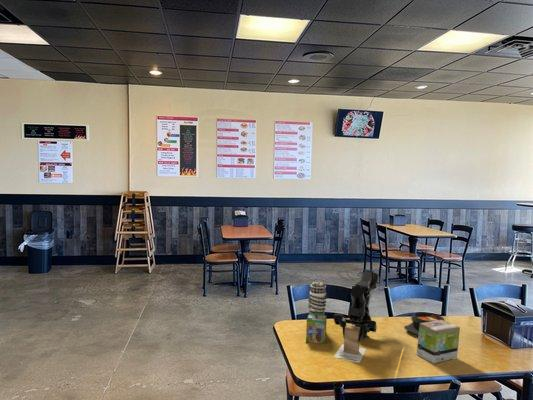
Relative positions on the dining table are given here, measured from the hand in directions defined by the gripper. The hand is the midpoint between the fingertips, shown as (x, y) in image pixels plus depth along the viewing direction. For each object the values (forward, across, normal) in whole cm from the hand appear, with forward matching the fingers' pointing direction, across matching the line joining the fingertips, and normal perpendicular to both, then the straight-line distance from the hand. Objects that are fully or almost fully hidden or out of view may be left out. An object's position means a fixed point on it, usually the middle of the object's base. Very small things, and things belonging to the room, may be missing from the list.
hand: (351, 340), depth 176 cm
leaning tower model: (-8, -22, +18) cm, 29 cm away
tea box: (-8, +35, +18) cm, 40 cm away
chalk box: (0, -18, +10) cm, 21 cm away
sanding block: (+3, 0, +5) cm, 6 cm away
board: (+5, 0, +5) cm, 7 cm away
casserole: (-29, +30, +39) cm, 57 cm away
